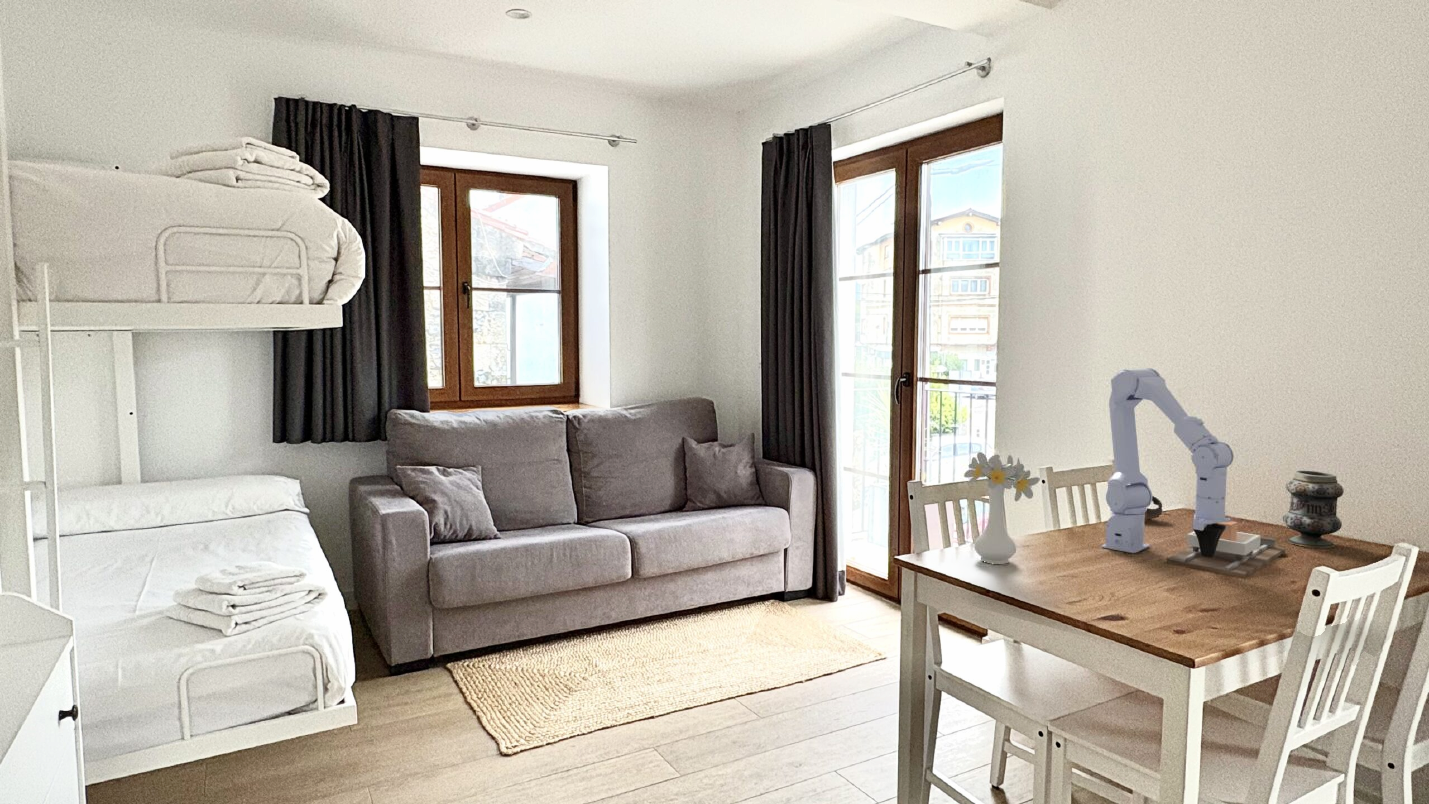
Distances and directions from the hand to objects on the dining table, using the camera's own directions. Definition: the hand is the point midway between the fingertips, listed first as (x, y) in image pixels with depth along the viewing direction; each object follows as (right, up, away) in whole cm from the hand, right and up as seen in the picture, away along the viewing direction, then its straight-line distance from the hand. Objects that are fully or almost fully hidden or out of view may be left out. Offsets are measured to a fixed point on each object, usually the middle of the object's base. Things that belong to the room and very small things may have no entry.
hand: (1207, 556), depth 191 cm
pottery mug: (+9, +1, +49) cm, 50 cm away
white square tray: (+8, 0, +7) cm, 10 cm away
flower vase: (-45, -3, +7) cm, 45 cm away
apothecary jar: (+38, -1, +21) cm, 44 cm away
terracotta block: (+8, +2, +7) cm, 11 cm away
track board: (+10, -2, +9) cm, 14 cm away
